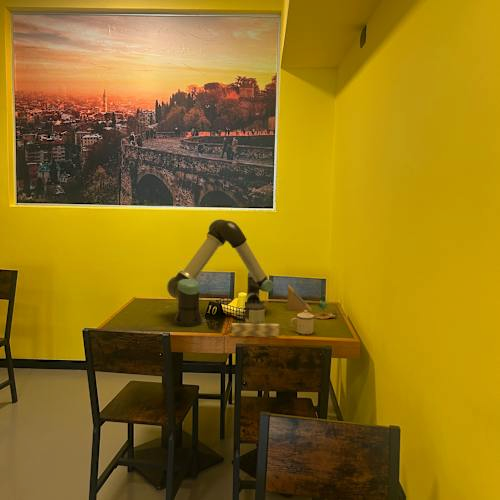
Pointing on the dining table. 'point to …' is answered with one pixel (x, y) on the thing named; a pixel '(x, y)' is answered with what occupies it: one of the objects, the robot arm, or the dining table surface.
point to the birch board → (255, 329)
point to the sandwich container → (296, 301)
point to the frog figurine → (323, 305)
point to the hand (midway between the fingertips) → (254, 310)
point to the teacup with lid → (304, 322)
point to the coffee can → (254, 313)
